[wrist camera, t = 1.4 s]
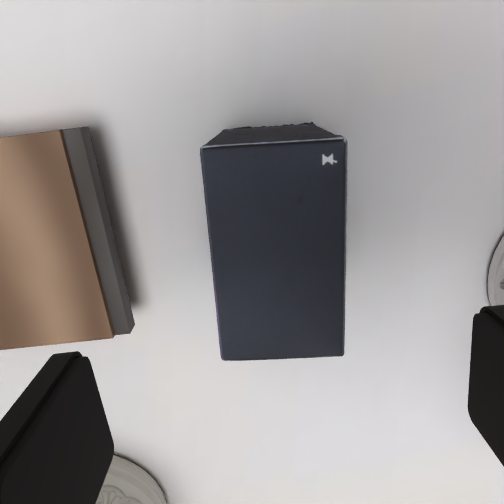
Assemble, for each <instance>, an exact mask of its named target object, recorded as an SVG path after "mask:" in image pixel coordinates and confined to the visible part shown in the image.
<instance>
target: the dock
mask: <svg viewBox="0 0 504 504" xmlns="http://www.w3.org/2000/svg"><path fill="white" fill-rule="evenodd" d="M134 325H135V323H134V319H133V314H132V310H131V306H130V302H129V297H128V293H127V289H126V285H125V281H124V276H123V272H122V268H121V264H120V259H119V255H118V251H117V247H116V243H115V238H114V234H113V230H112V226H111V221H110V217H109V213H108V209H107V205H106V200H105V196H104V192H103V188H102V183H101V179H100V175H99V171H98V167H97V162H96V158H95V154H94V150H93V145H92V141H91V137H90V133H89V129H88V127H81V128H73V129H65V130H57V131H49V132H41V133H33V134H25V135H18V136H10V137H2V138H0V350H5V349H14V348H24V347H33V346H43V345H53V344H62V343H72V342H82V341H91V340H101V339H110V338H113V337H114V336H115V335H120V334H130V333H131V331H132V329H133V327H134Z"/></svg>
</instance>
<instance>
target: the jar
mask: <svg viewBox="0 0 504 504" xmlns="http://www.w3.org/2000/svg"><path fill="white" fill-rule="evenodd" d="M96 504H166V500H165V497H164V495H163V492H162V490H161V489H160V487H159V485H158V484H157V483H156V481H155V480H154V479H153V478H152V477H151V476H150V475H149V474H148V473H147V472H146V471H144V470H143V469H142V468H140V467H139V466H137V465H135V464H134V463H132V462H130V461H128V460H126V459H123V458H121V457H118V456H115V455H113V459H112V462H111V464H110V467H109V470H108V472H107V475H106V477H105V480H104V483H103V485H102V488H101V491H100V493H99V496H98V498H97V501H96Z"/></svg>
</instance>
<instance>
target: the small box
mask: <svg viewBox="0 0 504 504" xmlns="http://www.w3.org/2000/svg"><path fill="white" fill-rule="evenodd" d="M200 156H201V165H202V175H203V184H204V194H205V204H206V214H207V223H208V233H209V242H210V252H211V262H212V272H213V282H214V292H215V302H216V312H217V323H218V333H219V344H220V353H221V359H222V360H225V361H226V360H230V361H243V360H267V359H287V358H314V357H334V356H343V355H344V334H345V276H346V203H347V140H346V139H345V138H344V137H343V136H341V135H334V134H332V133H330V132H328V131H326V130H324V129H322V128H320V127H317V126H316V125H315V124H314V123H313V122H311V123H303V124H300V125H293V124H290V125H283V126H273V127H272V126H270V127H265V126H263V127H254V128H252V127H242V128H234V129H226V130H223V131H222V132H221V133H220V134H218V135H217V136H216V137H215V138H213V139H212V140H210V141H209V142H208V143H207V144H206V145H203V146H202V147H201V148H200Z"/></svg>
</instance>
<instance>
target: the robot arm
mask: <svg viewBox="0 0 504 504" xmlns="http://www.w3.org/2000/svg"><path fill="white" fill-rule="evenodd" d="M488 295H489V301H490V304H491V306H486V307H483V308H481V310H480V313H478V314H475V315H474V317H473V328H472V345H471V361H470V378H469V394H468V412H469V415H470V418H471V420H472V422H473V424H474V425H475V426H476V428H477V429H478V431H479V432H480V434H481V435H482V436H483V438H484V439H485V441H486V442H487V443H488V445H489V446H490V448H491V449H492V450H493V452H494V453H495V455H496V456H497V458H498V459H499V460H500V462H501V463H502V465H503V466H504V236H503V237H502V239H501V241H500V243H499V245H498V247H497V249H496V250H495V252H494V256H493V259H492V262H491V265H490V268H489V275H488ZM113 455H114V443H113V439H112V436H111V432H110V429H109V425H108V422H107V418H106V415H105V412H104V408H103V405H102V401H101V398H100V394H99V391H98V387H97V384H96V380H95V377H94V373H93V370H92V366H91V363H90V360H89V358H88V357H86V356H85V357H83V356H82V355H81V353H80V352H78V351H76V352H67V353H58V354H53V355H52V356H51V357H50V358H49V360H48V361H47V362H46V364H45V365H44V366H43V367H42V369H41V370H40V371H39V372H38V374H37V375H36V376H35V378H34V379H33V380H32V381H31V383H30V384H29V385H28V387H27V388H26V389H25V390H24V392H23V393H22V394H21V395H20V397H19V398H18V399H17V401H16V402H15V403H14V404H13V406H12V407H11V408H10V410H9V411H8V412H7V413H6V415H5V416H4V417H3V418H2V420H1V421H0V504H96V501H97V498H98V496H99V493H100V491H101V488H102V485H103V483H104V480H105V477H106V475H107V472H108V470H109V467H110V464H111V462H112V459H113Z"/></svg>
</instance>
